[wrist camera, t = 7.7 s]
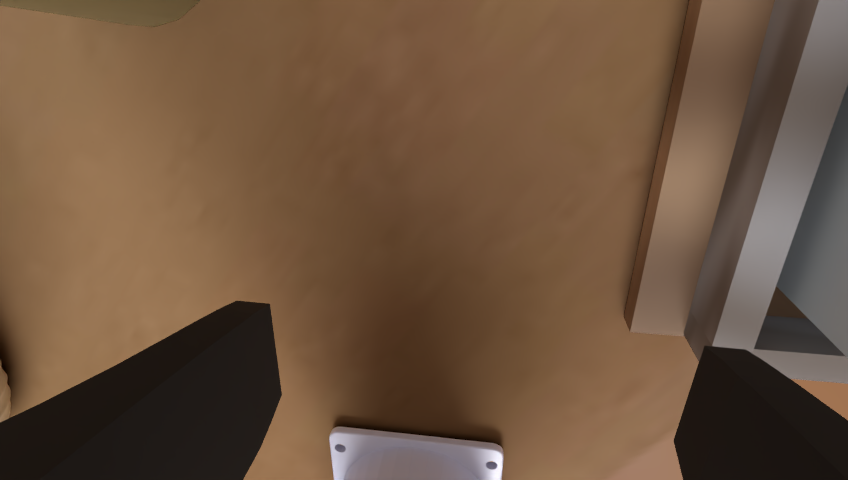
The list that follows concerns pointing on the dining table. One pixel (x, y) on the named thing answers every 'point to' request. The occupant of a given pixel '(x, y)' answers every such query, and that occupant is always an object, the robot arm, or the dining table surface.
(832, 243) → the pale blue rectangular brick
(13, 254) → the dining table surface
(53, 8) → the cork
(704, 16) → the track
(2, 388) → the canister
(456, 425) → the dining table surface
